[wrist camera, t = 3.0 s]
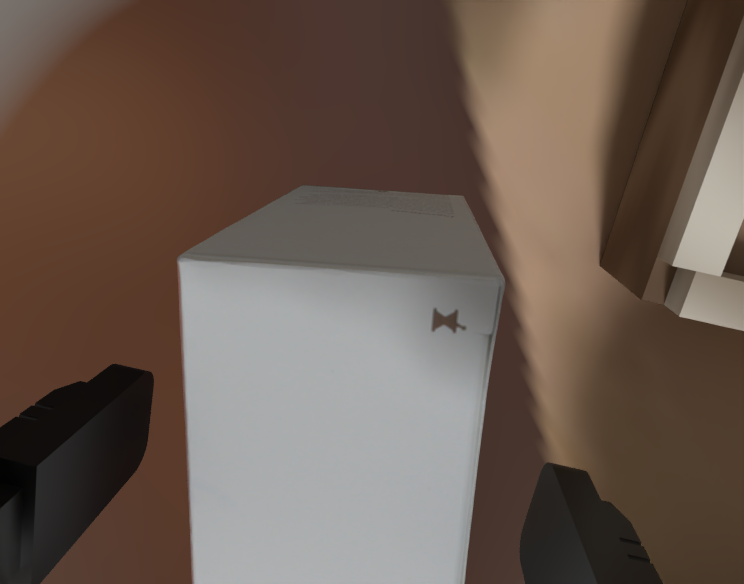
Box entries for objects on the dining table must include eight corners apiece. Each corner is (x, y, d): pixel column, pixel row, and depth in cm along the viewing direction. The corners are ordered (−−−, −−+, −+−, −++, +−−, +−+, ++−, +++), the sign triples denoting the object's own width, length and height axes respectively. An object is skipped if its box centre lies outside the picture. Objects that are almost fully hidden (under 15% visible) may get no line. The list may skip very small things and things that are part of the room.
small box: (300, 182, 20) (167, 241, 10) (468, 193, 19) (511, 267, 9) (295, 397, 22) (182, 630, 12) (445, 412, 22) (460, 665, 11)
